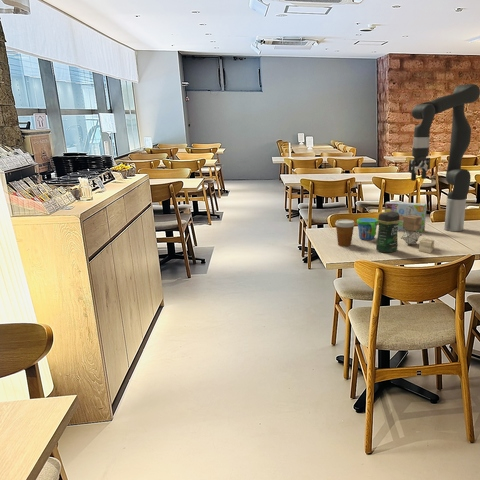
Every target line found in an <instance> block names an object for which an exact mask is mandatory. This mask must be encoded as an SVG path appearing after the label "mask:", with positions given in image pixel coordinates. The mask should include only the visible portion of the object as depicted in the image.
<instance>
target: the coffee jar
mask: <svg viewBox="0 0 480 480" xmlns="http://www.w3.org/2000/svg"><path fill="white" fill-rule="evenodd" d="M398 224H399V213H398V212H393V211H390V212H385V213H384V212H381V213H379V214H378V231H377V240H376V248H375V249H376V250H377V251H378V252H380V253H386V254H387V253H388V254H389V253H392V252H396V251H397V250H398V246H399V245H398V234H399V233H398V231H399V230H398Z"/></svg>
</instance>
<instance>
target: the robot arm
mask: <svg viewBox="0 0 480 480" xmlns="http://www.w3.org/2000/svg"><path fill="white" fill-rule="evenodd" d="M479 97H480V87H479V86H478V85H477V84H475V83H468V84H459V85H457V86H455V88H454V89H453V92H452V93H451V94H447V95H443V96H440V97H437V98H434V99H433V100H429V101H425V102H421V103H418V104H416V105H415V106H413V108H412V110H411V116H412V118H413V119H415V120H421V123H420V124H417V125H415V127H414V129H413V141H412V150H411V151H412V154H411V156H412V157H413V159H409V162H408V170H407V171H408V173H410V174H411V175H410V180H411V181H412V182H413V181H414V182H416V180H417V172H418V170H419V169H421V173H420V174H421V177H420V178H421V179H422V180H426V179H427V172H428V170H430V169H431V165H430V164H431V158H430V157H429V154H430V135H431V127H432V124H433V121H434V118H435V115H437V114H441V113H442V112H445V111H447V110H450V109H452V121H451V124H452V126H451V132H450V147H449V155H448V156H449V157H448V161H447V162H448V163H447V168H446V172H445V180H446V183H447V184H448V185H450V186H452V187H453V188H452V190H451V191H450V192H448V193H447V194H446V195H447V196H446V207H445V217H444V230H445V231H450V232H462V231H464V227H465V216H466V203H467V195H468V194H469V191H470V185H471V177H472V176H471V173H470V171H469V170H468V169H465V168H462V160H463V157H464V155H465V153H466V151H467V150H468V148H469V146H470V144H471V139H472V138H471V135H472V128H471V125H470V123H469V122H468V119H467V117H466V115H465V104H472V103H475V102H477V101H478V99H479Z"/></svg>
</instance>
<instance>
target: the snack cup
mask: <svg viewBox="0 0 480 480" xmlns="http://www.w3.org/2000/svg"><path fill="white" fill-rule="evenodd" d="M356 223H357V227H358V229H357V230H358V237H359V239H361V240H364V241H371V240H374V239H375V237H376V235H377V227H378V225H379V223H378V219H377V218H375V217H374V218H373V217H359V218H358V219H356Z"/></svg>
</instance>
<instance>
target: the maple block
mask: <svg viewBox="0 0 480 480" xmlns="http://www.w3.org/2000/svg"><path fill="white" fill-rule="evenodd" d="M434 248H435V240H434V239H429V238H422V239H420V241H419V245H418V251H419V252H422V253H427V254H428V253H429V254H430V253H432V252H433V251H434Z"/></svg>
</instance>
